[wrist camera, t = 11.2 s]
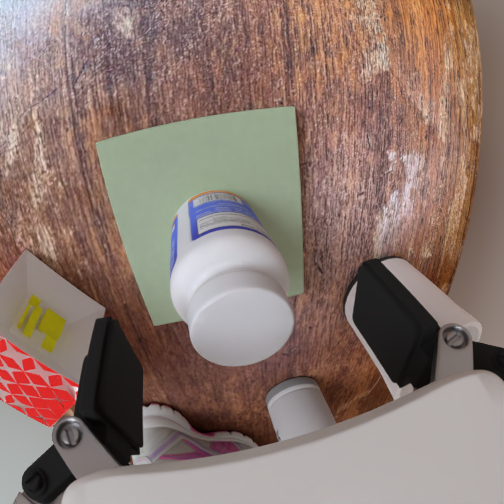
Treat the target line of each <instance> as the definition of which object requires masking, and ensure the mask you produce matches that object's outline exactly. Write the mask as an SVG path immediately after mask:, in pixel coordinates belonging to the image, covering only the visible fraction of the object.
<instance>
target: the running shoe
mask: <svg viewBox="0 0 504 504" xmlns="http://www.w3.org/2000/svg"><path fill="white" fill-rule="evenodd" d="M256 447H258V445H257V444H256V443H255V442H253V441H252V439H251V438H250V437H248V436H246V435H244V436H243V435H242V433H240V432H236V431H231V432H227V431H215V432H210V433H206V434H205V433H200V432H198V431H196V430H195V429H194V428H192V427H191V425H190V424H189V423H188V421H187V420H186V419H185V418H184V417H183V416H182V415H181V414H180V413H179V412H178V411H176V410H172V409H171V407H169V406H166V405H161V406H160V405H159V404H157V403H151V404H150V405H149V407H145V406H143V447H142V448H140V455H132V458H133V464H134V465H140V464H153V463H163V462H173V461H181V460H189V459H196V458H203V457H210V456H216V455H221V454H227V453H232V452H237V451H242V450H247V449H251V448H256Z"/></svg>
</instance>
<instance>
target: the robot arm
mask: <svg viewBox="0 0 504 504" xmlns="http://www.w3.org/2000/svg"><path fill="white" fill-rule="evenodd" d="M352 318H353V322H354V324H355V326H356V327H357V329H358V330H359V332H360V333H361V335H362V336H363V338H364V339H365V341H366V342H367V344H368V345H369V347H370V348H371V350H372V351H373V353H374V355H375V356H376V358H377V359H378V361H379V362H380V364H381V365H382V367H383V368H384V370H385V372H386V373H387V375H388V376H389V378H390V379H391V381H392V382H393V383H397V385H398V386H399V388H402V387H404V386H406V385H408V384H410V383H411V385H412V386H413V392H411V393H409V394H407V395H405V396H403V397H401V398H398V399H396V400H394V401H392V402H389V403H387V404H385V405H383V406H380V407H378V408H376V409H373V410H371V411H369V412H366V413H364V414H361V415H359V416H356V417H354V418H351V419H348V420H346V421H343V422H340V423H337V424H335V425H332V426H329V427H326V428H323V429H320V430H317V431H314V432H311V433H308V434H304V435H301V436H298V437H294V438H291V439H287V440H284V441H280V442H276V443H272V444H268V445H264V446H260V447H256V448H251V449H247V450H242V451H237V452H232V453H227V454H221V455H216V456H210V457H203V458H196V459H189V460H181V461H173V462H163V463H153V464H140V465H131V464H130V463H129V462H130V455H140V448H142V447H143V369H142V365H141V363H140V362H139V360H138V358H137V356H136V354H135V353H134V351H133V349H132V347H131V345H130V344H129V342H128V340H127V338H126V336H125V334H124V332H123V331H122V329H121V327H120V325H119V323H118V321H117V320H113V319H112V318H111V317H104V318H98V319H96V321H95V324H94V328H93V332H92V337H91V341H90V345H89V350H88V355H86V356H85V358H84V360H83V365H82V370H81V375H80V381H79V386H78V392H77V398H76V405H75V412H74V416H68V417H64V418H62V419H61V420H59V421H58V422H57V423H56V425H55V427H54V429H53V432H52V441H53V443H54V444H53V445H52V446H51V447H50V448H49V449H48V450H47V451H46V452H45V453H44V454H43V455H42V456H41V457H39V458H38V459H37V460H36V461H35V462H34V463H33V464H32V465H31V466H30V467H29V468H28V469H27V470H26V471H25V472H24V474H23V477H22V487H23V490H24V491H23V493H20V492H19V493H18V495H17V497H16V499H15V501H14V503H13V504H504V348H501V347H496V346H492V345H487V344H483V343H479V342H475V341H472V337H471V334H470V333H469V331H468V330H467V329H466V328H465V327H463V326H461V325H459V324H456V323H449V324H445V325H444V326H442V327H440V326H439V325H438V322H437V321H436V320H435V319H434V318H433V317H432V315H431V314H430V313H429V312H428V311H427V310H426V309H425V308H424V307H423V305H422V304H421V303H420V302H419V301H418V300H417V299H416V298H415V297H414V296H413V295H412V294H411V292H410V291H409V290H408V289H407V288H406V287H405V286H404V285H403V284H402V283H401V282H400V281H399V280H398V279H397V278H396V277H395V276H394V275H393V274H392V273H391V272H390V271H389V270H388V269H387V268H386V266H385V265H384V264H383V263H382V262H381V261H380V260H378V259H376V258H375V259H371V260H368V261H364V262H363V263H362V266H360V267H359V270H358V279H357V286H356V294H355V301H354V308H353V314H352Z"/></svg>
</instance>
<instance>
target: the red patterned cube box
mask: <svg viewBox="0 0 504 504" xmlns="http://www.w3.org/2000/svg"><path fill="white" fill-rule="evenodd" d="M105 310H106V308H105V307H103V306H102V305H100V304H99V303H97V302H96V301H94V300H93V299H91V298H90V297H89V296H87V295H86V294H84V293H83V292H81V291H80V290H79V289H77V288H76V287H75V286H73V285H72V284H70V283H69V282H68V281H66V280H65V279H64V278H62V277H61V276H60V275H58V274H57V273H56V272H54V271H53V270H52V269H51V268H49V267H48V266H47V265H45V264H44V263H43V262H42V261H40V260H39V259H38V258H37V257H36V256H34V255H33V254H32V253H31V252H29V251H28V250H27V249H25V250H24V251H23V253H22V254H21V255H20V256H19V258H18V259H17V260H16V262H15V263H14V264H13V266H12V267H11V268H10V270H9V271H8V272H7V274H6V275H5V277H4V278H3V279H2V281H1V282H0V400H2V401H3V402H5V403H7V404H8V405H10V406H12V407H13V408H15V409H17V410H19V411H20V412H22V413H24V414H26V415H27V416H29V417H31V418H33V419H35V420H37V421H38V422H40V423H42V424H44V425H46V426H48V427H51V426H52V425H53V424H54V423H55V422H56V421H57V420H58V419H59V418H61V417H62V416H63V415H64V414H65V413H66V412H67V411H68V410H69V409H70V408H71V407H72V406H73V405H74V404H75V403H76V398H77V392H78V386H79V381H80V375H81V370H82V365H83V360H84V358H85V356H86V355H88V350H89V345H90V341H91V337H92V332H93V328H94V324H95V321H96V319H98V318H104V314H105Z"/></svg>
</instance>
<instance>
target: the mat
mask: <svg viewBox="0 0 504 504" xmlns="http://www.w3.org/2000/svg"><path fill="white" fill-rule="evenodd" d="M96 147H97V152H98V156H99V160H100V164H101V168H102V172H103V176H104V180H105V184H106V188H107V192H108V195H109V199H110V202H111V206H112V209H113V213H114V216H115V219H116V223H117V226H118V229H119V232H120V235H121V238H122V241H123V244H124V247H125V250H126V253H127V256H128V259H129V262H130V265H131V268H132V270H133V273H134V276H135V279H136V281H137V284H138V287H139V289H140V292H141V295H142V297H143V300H144V302H145V305H146V307H147V310H148V312H149V315H150V317H151V319H152V322H153V324H154V326H158V325H163V324H168V323H173V322H179V321H184V320H183V319H182V318H181V317H180V315H179V314H178V313H177V311H176V309H175V307H174V305H173V302H172V298H171V292H170V254H171V228H172V224H173V220H174V217H175V215H176V213H177V211H178V210H179V208H180V207H181V206H182V205H183V203H185V202H186V201H187V200H188V199H189V198H191V197H192V196H194V195H196V194H198V193H200V192H203V191H207V190H225V191H229V192H232V193H234V194H236V195H238V196H239V197H241V198H242V199H243V200H244V201H245V202H246V203H247V204H248V205H249V206H250V207H251V209H252V210H253V212H254V213H255V215H256V216H257V218H258V219H259V221H260V222H261V224H262V225H263V227H264V228H265V230H266V231H267V233H268V235H269V236H270V238H271V239H272V241H273V242H274V244H275V245H276V247H277V249H278V250H279V252H280V253H281V255H282V257H283V259H284V261H285V263H286V266H287V269H288V273H289V290H288V294H287V297H290V296H294V295H298V294H302V293H304V265H303V229H302V205H301V184H300V167H299V152H298V138H297V125H296V113H295V107H293V106H287V107H275V108H265V109H255V110H247V111H239V112H232V113H225V114H218V115H212V116H206V117H200V118H194V119H189V120H184V121H179V122H174V123H169V124H164V125H160V126H155V127H151V128H147V129H143V130H139V131H135V132H131V133H127V134H123V135H120V136H116V137H112V138H109V139H105V140H102V141H99V142H97V143H96Z"/></svg>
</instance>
